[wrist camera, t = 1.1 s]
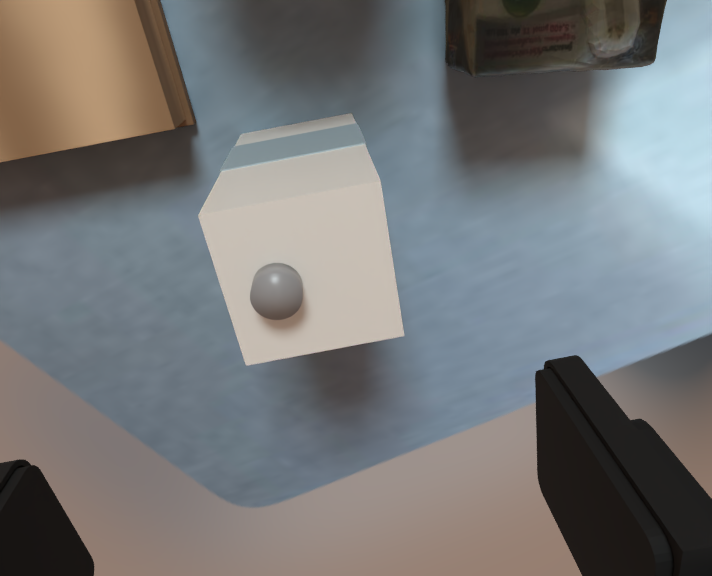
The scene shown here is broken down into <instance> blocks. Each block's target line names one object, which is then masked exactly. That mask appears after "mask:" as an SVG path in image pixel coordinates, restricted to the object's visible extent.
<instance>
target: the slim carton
mask: <svg viewBox="0 0 712 576" xmlns="http://www.w3.org/2000/svg"><path fill="white" fill-rule="evenodd" d="M198 217H199V220H200V223H201V226H202V229H203V232H204V236H205V239H206V242H207V245H208V248H209V251H210V254H211V257H212V261H213V264H214V267H215V270H216V273H217V276H218V279H219V282H220V286H221V289H222V292H223V295H224V298H225V301H226V304H227V307H228V311H229V314H230V317H231V320H232V323H233V326H234V329H235V332H236V336H237V339H238V342H239V345H240V348H241V351H242V354H243V357H244V361H245V364H246V366H247V365H252V364H258V363H263V362H268V361H274V360H279V359H284V358H290V357H295V356H300V355H306V354H311V353H316V352H322V351H327V350H332V349H338V348H343V347H348V346H354V345H359V344H364V343H370V342H375V341H380V340H386V339H391V338H396V337H401V336H404V331H403V324H402V318H401V311H400V305H399V298H398V292H397V285H396V279H395V272H394V265H393V259H392V252H391V246H390V239H389V233H388V226H387V220H386V213H385V207H384V200H383V194H382V187H381V181H380V178H379V176H378V174H377V171H376V169H375V167H374V164H373V162H372V160H371V157H370V155H369V153H368V150H367V146H366V142H365V139H364V137H363V135H362V132H361V130H360V128H359V126H358V123H356V122H355V120H354V117H353V115H352V113H349V114H343V115H338V116H333V117H328V118H322V119H317V120H312V121H307V122H301V123H296V124H291V125H286V126H280V127H275V128H270V129H265V130H260V131H254V132H249V133H244V134H241V135H240V137H239V139H238V141H237V143H236V145H235V146H234V147H232V149H231V151H230V152H229V154H228V156H227V158H226V160H225V162H224V163H223V165H222V167H221V169H220V175H219V177H218V179H217V181H216V183H215V184H214V186H213V188H212V190H211V192H210V194H209V196H208V198H207V200H206V201H205V203H204V205H203V207H202V209H201V211H200V213H199V215H198Z"/></svg>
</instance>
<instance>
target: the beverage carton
mask: <svg viewBox="0 0 712 576" xmlns="http://www.w3.org/2000/svg"><path fill="white" fill-rule="evenodd" d="M666 1H667V0H445V5H446V57H445V60H446V63H448V66H449V67H451V68H453V69H455V70H457V71H464V72H465V73H466V74H468V75H470V76H473V77H485V76H502V75H512V74H528V73H546V72H554V71H587V70H609V69H621V68H634V67H643V66H647V65H650V64H652V63H653V62H654V61H655V58H656V51H657V45H658V39H659V34H660V29H661V23H662V19H663V14H664V9H665V5H666Z"/></svg>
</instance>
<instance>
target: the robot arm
mask: <svg viewBox="0 0 712 576" xmlns="http://www.w3.org/2000/svg"><path fill="white" fill-rule="evenodd" d="M535 383H536V425H537V426H536V427H537V471H538V481H539V485H540V488H541V491H542V494H543V496H544V498H545V500H546V502H547V504H548V506H549V508H550V511H551V513H552V515H553V517H554V519H555V521H556V523H557V525H558V527H559V529H560V531H561V533H562V535H563V537H564V539H565V541H566V543H567V545H568V547H569V549H570V551H571V553H572V555H573V557H574V559H575V562H576V563H577V566H578V568H579V570H580V572H581V574H582V576H712V499H711V498H710V497H709V496H708V494H707V493H706V492H705V491H704V489H703V488H702V487H701V486H700V485H699V483H698V482H697V481H696V480H695V478H694V477H693V476H692V475H691V474H690V472H689V471H688V470H687V469H686V468H685V466H684V465H683V464H682V463H681V462H680V460H679V459H678V458H677V457H676V456H675V454H674V453H673V452H672V451H671V450H670V448H669V447H668V446H667V445H666V444H665V442H664V441H663V440H662V439H661V438H660V436H659V435H658V434H657V433H656V431H655V430H654V429H653V428H652V427H651V426H650V425H649V424H648V423H647V422H646V421H644V420H642V419H635V420H630V419H629V418H628V417H627V416H626V414H625V413H624V412H623V411H622V409H621V408H620V407H619V406H618V404H617V403H616V402H615V400H614V399H613V398H612V397H611V395H610V394H609V393H608V392H607V391H606V389H605V388H604V387H603V385H602V384H601V383H600V382H599V380H598V379H597V378H596V376H595V375H594V374H593V373H592V371H591V370H590V369H589V368H588V366H587V365H586V364H585V363H584V361H583V360H582V359H581V358H580V357H579V356H577V355H574V356H569V357H564V358H558V359H553V360H548V361H546V362H545V364H544V369H543V370H538V371H536V376H535ZM0 576H94V562H93V559H92V557H91V555H90V554H89V552H88V550H87V548H86V547H85V545H84V543H83V542H82V540H81V538H80V536H79V535H78V533H77V531H76V530H75V528H74V526H73V525H72V523H71V521H70V520H69V518H68V516H67V515H66V513H65V511H64V510H63V508H62V506H61V504H60V503H59V501H58V499H57V498H56V496H55V494H54V492H53V491H52V489H51V487H50V486H49V484H48V482H47V481H46V479H45V477H44V475H43V474H42V472H41V470H40V469H39V468H38V467H37V466H35V465H30V463H29V462H28V461H26V460H15V461H9V462H4V463H0Z"/></svg>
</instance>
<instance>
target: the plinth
mask: <svg viewBox="0 0 712 576" xmlns="http://www.w3.org/2000/svg"><path fill="white" fill-rule="evenodd" d="M195 123H196V120H195V116H194V113H193V109H192V106H191V103H190V99H189V96H188V93H187V89H186V86H185V82H184V79H183V76H182V72H181V69H180V66H179V62H178V59H177V56H176V52H175V49H174V45H173V42H172V39H171V35H170V32H169V29H168V25H167V22H166V18H165V15H164V12H163V8H162V5H161V2H160V0H0V162H5V161H10V160H15V159H20V158H25V157H31V156H36V155H41V154H46V153H52V152H57V151H62V150H67V149H73V148H78V147H83V146H88V145H93V144H99V143H104V142H109V141H114V140H120V139H125V138H130V137H135V136H141V135H146V134H151V133H156V132H161V131H167V130H172V129H175V128H177V127H183V126H188V125H193V124H195Z"/></svg>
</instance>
